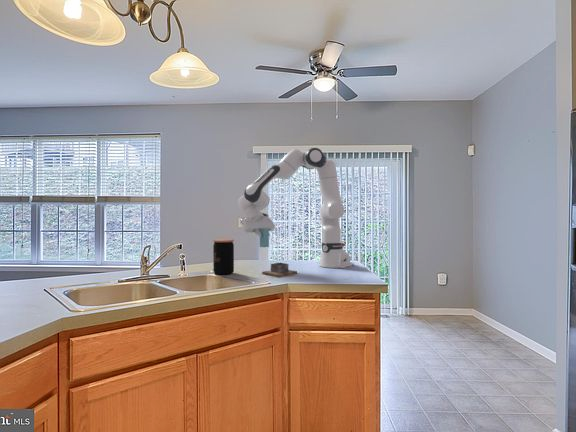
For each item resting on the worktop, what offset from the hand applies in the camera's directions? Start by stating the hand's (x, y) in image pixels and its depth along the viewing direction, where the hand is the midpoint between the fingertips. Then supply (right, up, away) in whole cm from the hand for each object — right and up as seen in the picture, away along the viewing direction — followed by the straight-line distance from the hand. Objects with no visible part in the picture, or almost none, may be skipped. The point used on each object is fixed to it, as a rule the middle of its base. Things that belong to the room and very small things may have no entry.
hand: (265, 236), depth 185 cm
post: (0, -6, +1) cm, 6 cm away
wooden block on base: (+8, -19, -9) cm, 23 cm away
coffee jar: (-21, -20, -8) cm, 30 cm away
